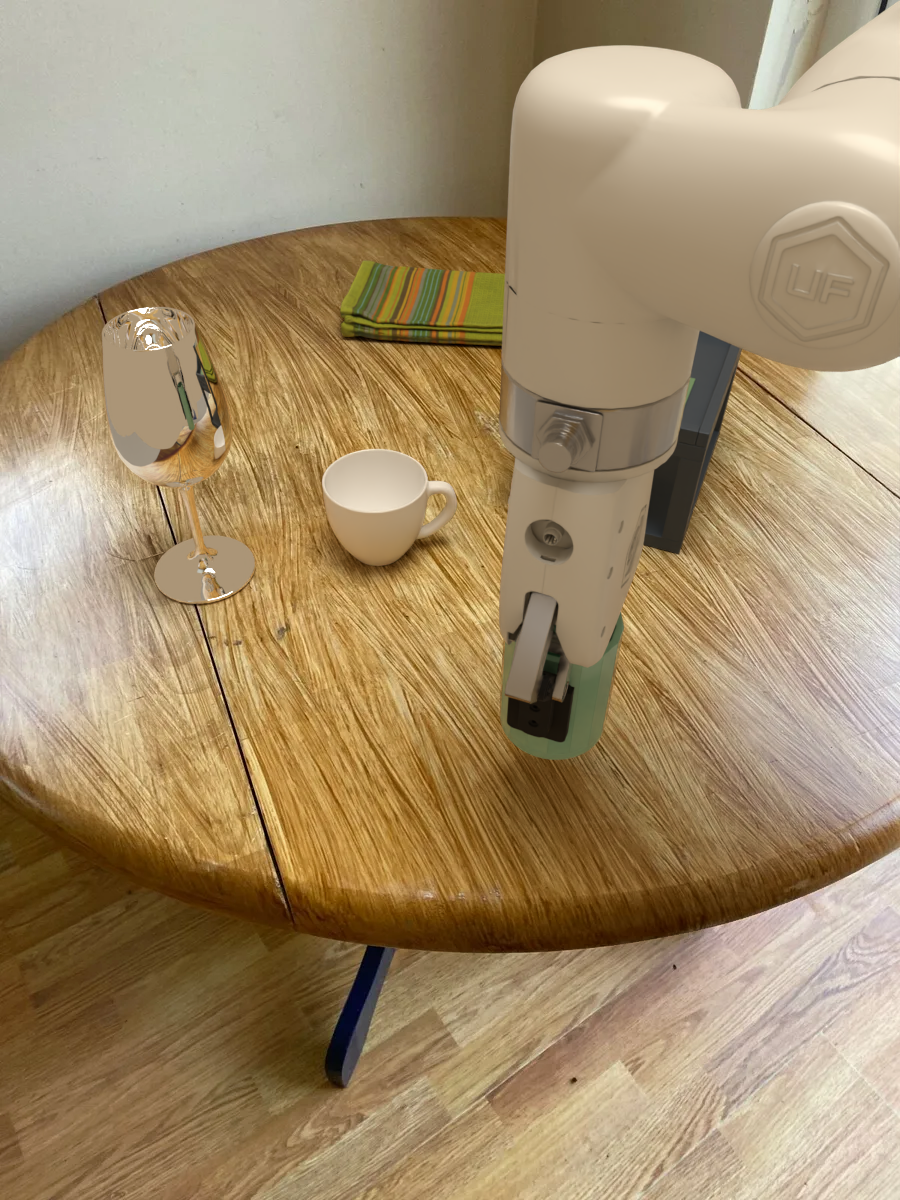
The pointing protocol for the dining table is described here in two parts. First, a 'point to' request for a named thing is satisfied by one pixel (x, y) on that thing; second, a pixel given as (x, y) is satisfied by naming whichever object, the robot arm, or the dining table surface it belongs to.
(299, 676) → the dining table surface
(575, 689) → the tumbler
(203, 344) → the wineglass
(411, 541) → the cup
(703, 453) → the tray
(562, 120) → the robot arm
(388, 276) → the dish towel
